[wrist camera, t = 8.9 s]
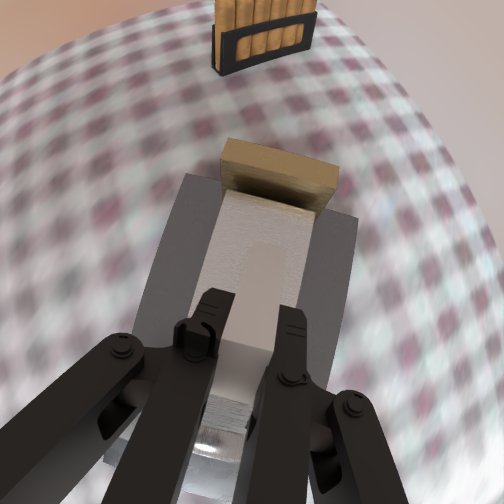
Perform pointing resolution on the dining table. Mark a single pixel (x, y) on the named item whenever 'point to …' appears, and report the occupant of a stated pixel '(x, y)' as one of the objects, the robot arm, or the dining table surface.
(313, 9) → the ammunition clip
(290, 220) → the strap
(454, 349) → the dining table surface
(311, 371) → the latch board
